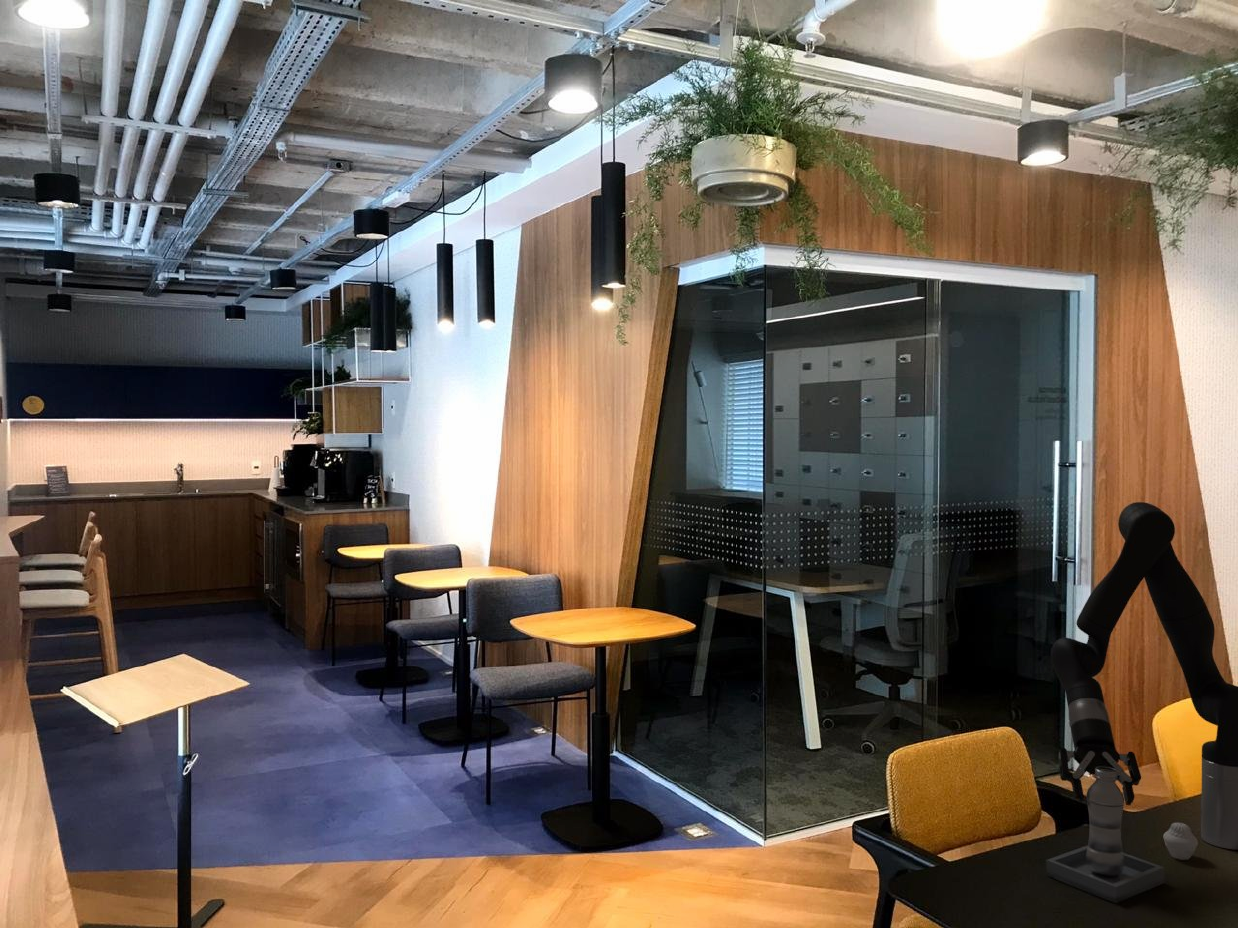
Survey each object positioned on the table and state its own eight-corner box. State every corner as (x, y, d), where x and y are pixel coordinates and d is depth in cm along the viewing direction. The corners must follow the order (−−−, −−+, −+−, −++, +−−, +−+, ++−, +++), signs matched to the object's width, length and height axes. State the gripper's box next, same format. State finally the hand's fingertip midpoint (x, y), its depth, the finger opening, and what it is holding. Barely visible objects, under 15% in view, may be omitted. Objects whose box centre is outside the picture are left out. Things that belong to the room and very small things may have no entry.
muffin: (1157, 855, 200) (1157, 821, 200) (1171, 848, 204) (1171, 814, 204) (1189, 865, 195) (1190, 830, 195) (1203, 858, 199) (1203, 823, 199)
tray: (1095, 857, 199) (1095, 842, 199) (1164, 882, 187) (1164, 867, 187) (1046, 875, 191) (1046, 859, 191) (1115, 903, 179) (1115, 886, 179)
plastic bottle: (1129, 881, 185) (1130, 775, 185) (1090, 878, 187) (1091, 772, 187) (1118, 868, 192) (1119, 765, 192) (1081, 864, 193) (1082, 762, 193)
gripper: (1055, 714, 200) (1068, 790, 189) (1132, 718, 196) (1149, 795, 185) (1050, 733, 205) (1062, 807, 194) (1124, 737, 202) (1141, 813, 191)
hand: (1105, 801), depth 190 cm, fingers open, 8 cm apart
